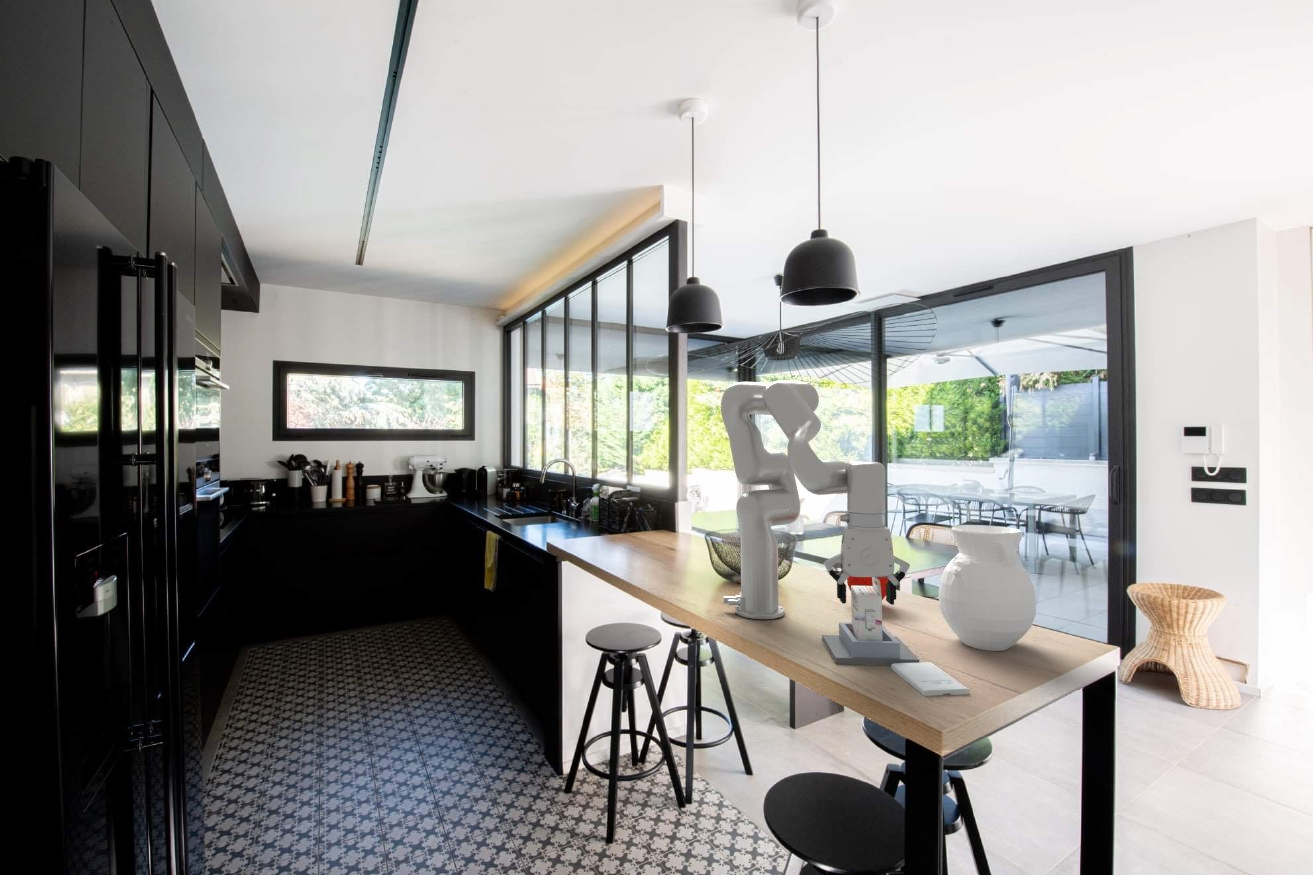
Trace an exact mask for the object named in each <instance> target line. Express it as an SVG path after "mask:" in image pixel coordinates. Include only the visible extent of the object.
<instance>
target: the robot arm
mask: <svg viewBox="0 0 1313 875" xmlns="http://www.w3.org/2000/svg"><path fill="white" fill-rule="evenodd" d="M819 399H820V396H819V394H818V391H817V389H816V388H815V387H814V386H813V385H812V384H811V383H809V382H805V381H798V380H795V381H794V380H776V381H773V382H767V383H766V382H755V381H740V382H735V383H732V384H730V385H729V386H728V387H727V388H726V389H725V390H724V391H723V394H722V397H721V400H720V414H721V418H722V422H723V425H724V428H725V429H726V433H727V436H728V439H729V444H730V445H729V447H730V452H731V456H732V461H733V466H734V472H735V476H736V479H737V480H738V482H739V483H740V484H741V485H744V486H748V487H749V486H750V487H751V486H752V487H755V486H757V487H758V486H768V489H756V490H751V491H747V492H745V493H743V494H742V495H741V496H739V498H738V499H737V502H736V508H735V509H736V516H737V522H738V527H739V535H740V592H738V593H739V594H736V595H735V596H730V595H723V604H728V606H735V609H734V612H735V614H737V615H738V616H741V617H744V618H747V619H753V620H772V619H778V618H781V617H783V616H784V615H785V614H786V611H785V610H786V608H784V606H782V605H779V545H778V541H777V540H778V539H777V537H776V536H775V534H774V532H773V530H772V527H775V526H787V525H790V524H793V523H794V522H796V521H797V520H798V518H799V516H800V514H801V501H800V495H799V490H798V486H797V485H798V484H797V480H798V481H799V483H800V484H801V486H803V487H804V489H806V490H807V491H808V492H809V493H811V494H813V495H819V496H821V495H823V496H825V495H840V494H841V495H843V494H846V496H847V498H846V499H847V503H846V506H847V508H846V513H844V514H841V515H840V516H839V518H840V522H844V523H846V525H845V526H844V527H843V529H842V530H843V531H842V538H841V545H840V552H839V553H838V554H836V555H834V556H832V557H830V558H828V559H826V560H824V561H823V565H824V567H825V569H826V571H827V573H828V575H830V577H831V578H832V579H834V581H835V582H836V597H837V599H839V601H840V602H841V603H842V604H843V605H844V604H847V584H846V583H845V582H846V581H847V578H848V577H849V576H853V577H886V578H887V579H888V582H887V583H886V596H885V601H886V602H887V603H888V604H889V605H890V606H891V605H892V606H893V605H895V601H896V600H897V586H898V585H899V583H900V582H902V580H903V579H904V578H905V577H906V574H907V573H908V570H909V569H910V567H911V565H910V563H909V562H907V561H905V560H903V559H901V558H900V557H897V556H895V555H894V547H893V546H894V545H893V539H892V534H891V533H892V532H891V529H890V528H889V527H887V526H886V468H885V465H884V464H883V463H881V462H877V461H856V460H851V459H820V458H819V457H818V456H817V454H816V453H815V451H814V450H813V448H812V447H811V446H810V443H809V442H811V441H812V440H813V439H815V437H816V436H817V435H818V433H819V432H820V430H821V428H822V423H821V420H820V417H818V416H817V414H816V413H815V411H816V410H817V408H818V406H819V403H820V400H819ZM750 415H763V416H767V415H768V416H772V417H773V418H772V419H774V421H775V422H776V423H777V425H778V426H779V427H780V429H781V430H782V432H783V433H784V435H785V436H786V438H787V439H788V443H787V447H786V448H787V454H786V453H785V452H784V451H782V450H778V449H766V448H765V446H764V443H763V440H762V434H761V431H760V429H759V427H758V425H757V424H756V422H755V421H754V420H753V419H752V418H751V416H750ZM796 478H797V480H796ZM837 563H839V566H840V569H841V570H840V571H839V572H838V573H837V572H836V571H835V569H834V565H836V564H837ZM895 564H896V565H899V569H898V570H897V571H896V572H895ZM889 566H890V567H889Z"/></svg>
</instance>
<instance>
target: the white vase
mask: <svg viewBox="0 0 1313 875" xmlns="http://www.w3.org/2000/svg"><path fill="white" fill-rule="evenodd" d="M951 531H952V536H953V538H954V541H955V543H956V547H957V552H958V553H957V554H956V555H955V556H954V557H953V558H951V560H950V561H948V564H947V565H946V566H945V568H944V569H943V572H942V574H941V577H940V579H939V587H938V606H939V609H940V611H941V614H942V617H943V619H944V620H945V622H946V624H947V625H948V627H949V628H950V629H951V631H953V633H954V634H955V635H956V636H957V637H958V639H959V640H960V641H961V642H962V643H963V644H964V645H966V646H968V647H971V648H973V649H976V650H977V649H978V650H982V651H983V650H984V651H989V652H991V651H992V652H1002V651H1003V652H1004V651H1007V650H1009V649H1010V648H1011V647H1013V646H1014V645H1015V644H1016V643H1017V642H1018V641H1020V640H1021V639H1022V638H1023V637H1024V636H1025V635H1026V634H1027V633H1028V632H1029V631H1030V630H1031V628H1032V625H1033V623H1034V620H1035V618H1036V615H1037V614H1036V612H1037V597H1036V591H1035V587H1034V584H1033V581H1032V580H1031V578H1030V575H1029V574H1028V572H1027V570H1026V568H1025V567H1024V565H1023V563H1022V561H1021V557H1020V556H1021V555H1020V554H1019V553H1017V549H1018V547H1019V545H1020V543H1021V540H1022V536H1023V532H1022V530H1020V529H1019V528H1015V527H1009V526H999V525H985V524H982V525H980V524H961V525H960V524H958V525H953V526H952V527H951Z"/></svg>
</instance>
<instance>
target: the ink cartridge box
mask: <svg viewBox="0 0 1313 875" xmlns="http://www.w3.org/2000/svg"><path fill="white" fill-rule="evenodd" d="M875 581H876V582H877V585H876V583H875ZM872 582H873V586H851V591H850V599H851V600H850V601H851V610H850V612H851V623H852V634H853V636H854V637H855V638H856V640H859V641H883V639H882V625H883V600H882V596H881V586H880V580H879V579H878V578H877V577H872Z"/></svg>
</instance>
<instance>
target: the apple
mask: <svg viewBox="0 0 1313 875" xmlns="http://www.w3.org/2000/svg"><path fill="white" fill-rule="evenodd" d="M889 567H890V566H889ZM877 578H878V579H879V580H880V586H881V596H882V601H883V600H884V599H885V598H886V583H887V582H888V579H887V578H886V577H877ZM846 583H847V584H846V585H847V586H848V590H849V591H850V592H851V586H873V582H872V577H853V576H849V577H848V578H847V579H846ZM875 583H876V585H877V582H876V581H875Z"/></svg>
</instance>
